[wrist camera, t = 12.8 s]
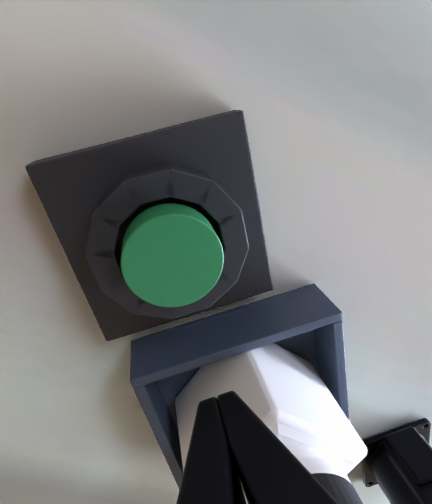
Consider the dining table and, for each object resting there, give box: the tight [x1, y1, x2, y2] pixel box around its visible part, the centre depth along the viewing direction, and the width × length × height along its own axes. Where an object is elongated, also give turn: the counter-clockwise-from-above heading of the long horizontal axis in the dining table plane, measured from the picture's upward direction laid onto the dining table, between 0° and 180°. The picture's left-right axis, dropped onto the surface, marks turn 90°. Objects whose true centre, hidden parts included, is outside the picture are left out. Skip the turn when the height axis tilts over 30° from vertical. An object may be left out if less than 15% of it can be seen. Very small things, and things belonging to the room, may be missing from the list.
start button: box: [121, 203, 224, 307], centre depth 15 cm, size 4×4×2 cm
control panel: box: [26, 110, 273, 341], centre depth 17 cm, size 10×10×3 cm
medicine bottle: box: [175, 343, 368, 504], centre depth 18 cm, size 7×7×12 cm
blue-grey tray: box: [130, 284, 349, 489], centre depth 22 cm, size 11×12×3 cm
